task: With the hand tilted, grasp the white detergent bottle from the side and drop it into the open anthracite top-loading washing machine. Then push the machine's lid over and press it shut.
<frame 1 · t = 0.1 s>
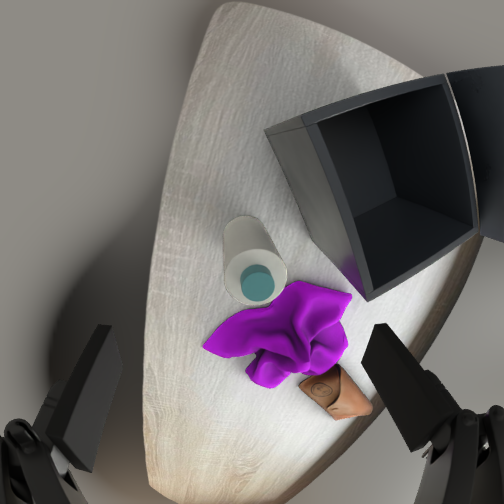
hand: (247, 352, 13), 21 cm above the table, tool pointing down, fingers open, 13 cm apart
sunglasses case: (336, 392, 46), on the table
white bottle: (245, 237, 33), on the table
washer: (340, 165, 31), on the table
cloth: (282, 340, 39), on the table
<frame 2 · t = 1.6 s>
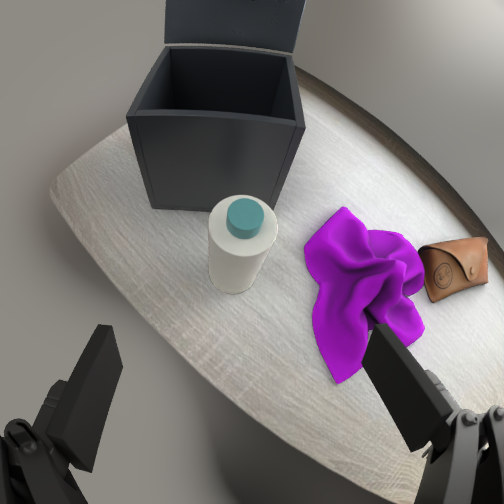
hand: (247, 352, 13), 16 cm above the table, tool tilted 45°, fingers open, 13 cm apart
sunglasses case: (455, 269, 36), on the table
white bottle: (232, 271, 31), on the table
washer: (215, 168, 36), on the table
cloth: (369, 294, 32), on the table
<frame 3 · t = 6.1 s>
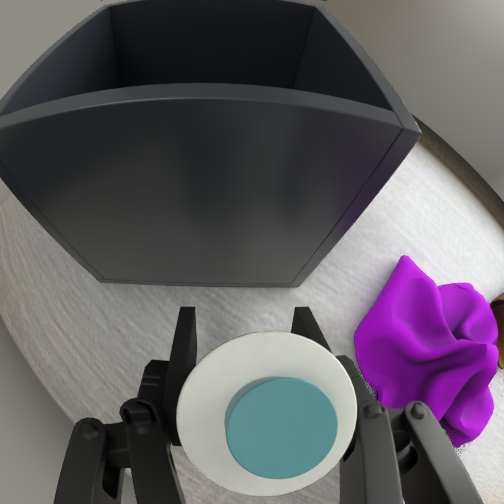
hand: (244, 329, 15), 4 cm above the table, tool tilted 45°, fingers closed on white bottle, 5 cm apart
white bottle: (240, 391, 16), on the table, touching gripper
washer: (200, 203, 22), on the table
cloth: (438, 383, 18), on the table
when the fingers open (16 cm above the table, at t = 14.5 s): white bottle drops 12 cm, resting on washer.
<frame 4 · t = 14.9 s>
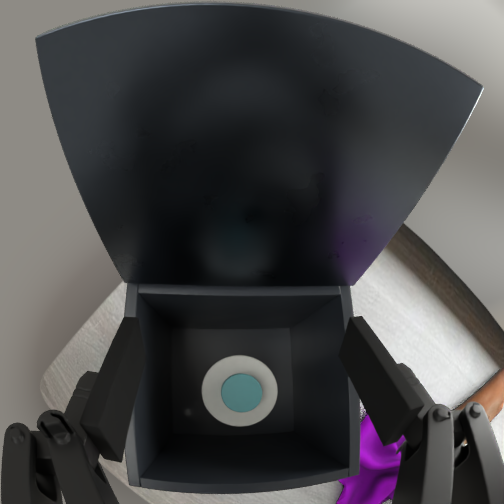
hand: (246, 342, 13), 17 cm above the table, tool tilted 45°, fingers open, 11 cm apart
sunglasses case: (474, 411, 28), on the table
white bottle: (232, 383, 27), point 1 cm above the table, touching washer
washer lid: (257, 194, 11), point 22 cm above the table, hinge at 100.0°
washer: (232, 382, 28), on the table
cloth: (388, 474, 24), on the table
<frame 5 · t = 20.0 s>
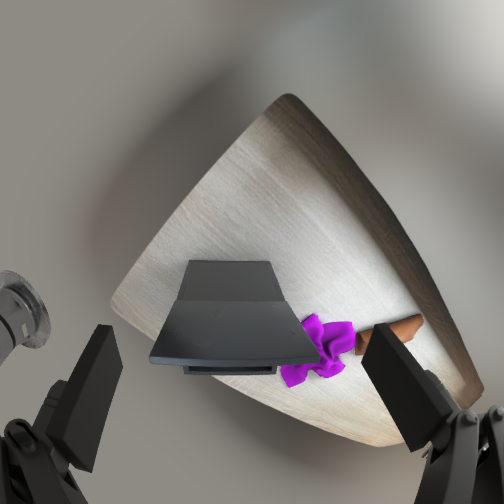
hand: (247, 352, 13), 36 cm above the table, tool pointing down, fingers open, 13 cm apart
sunglasses case: (387, 333, 60), on the table
washer lid: (232, 327, 29), point 22 cm above the table, hinge at 100.0°
washer: (228, 294, 52), on the table
cloth: (315, 354, 60), on the table
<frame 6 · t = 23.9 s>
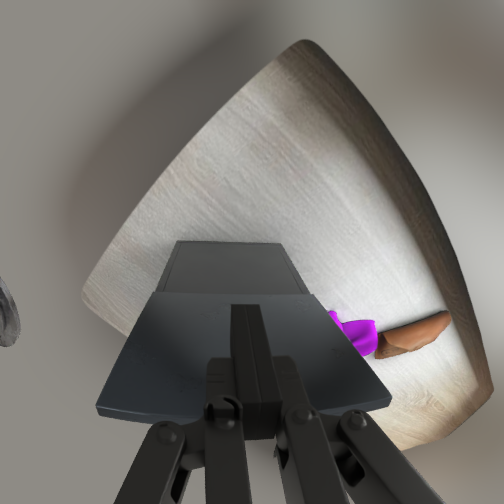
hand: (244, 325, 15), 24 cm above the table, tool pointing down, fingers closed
sunglasses case: (410, 332, 50), on the table
washer lid: (240, 341, 18), point 22 cm above the table, hinge at 96.7°, touching gripper
washer: (227, 285, 41), on the table
cloth: (330, 358, 49), on the table
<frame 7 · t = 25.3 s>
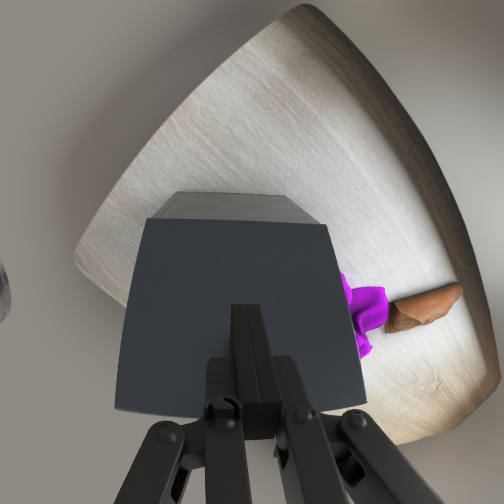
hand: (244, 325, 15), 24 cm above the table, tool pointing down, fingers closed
sunglasses case: (421, 305, 48), on the table
washer lid: (240, 305, 18), point 21 cm above the table, hinge at 59.2°, touching gripper
washer: (229, 241, 39), on the table
cloth: (338, 330, 47), on the table
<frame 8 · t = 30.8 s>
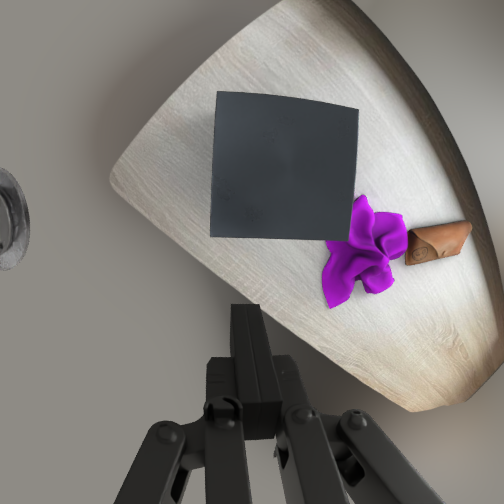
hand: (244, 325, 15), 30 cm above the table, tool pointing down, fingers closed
sunglasses case: (435, 240, 50), on the table
washer lid: (287, 167, 26), point 16 cm above the table, hinge at 4.0°
cloth: (363, 257, 49), on the table
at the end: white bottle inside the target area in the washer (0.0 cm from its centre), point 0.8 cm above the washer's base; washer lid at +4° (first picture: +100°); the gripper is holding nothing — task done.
